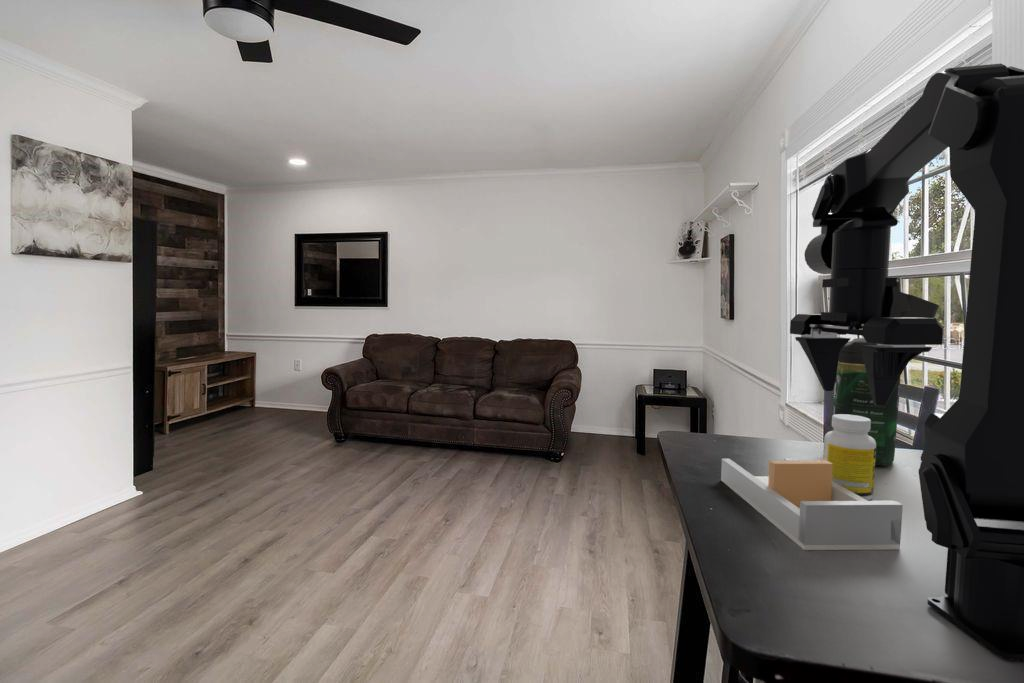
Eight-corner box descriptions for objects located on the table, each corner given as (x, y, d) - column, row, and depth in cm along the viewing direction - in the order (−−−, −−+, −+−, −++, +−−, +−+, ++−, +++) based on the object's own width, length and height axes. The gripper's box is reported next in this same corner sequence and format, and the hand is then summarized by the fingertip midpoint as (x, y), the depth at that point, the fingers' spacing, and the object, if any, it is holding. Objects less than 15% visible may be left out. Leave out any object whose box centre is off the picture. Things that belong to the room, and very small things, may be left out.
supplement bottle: (882, 504, 60) (887, 423, 59) (832, 500, 61) (836, 421, 60) (860, 487, 65) (864, 413, 64) (814, 484, 66) (817, 411, 65)
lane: (899, 549, 49) (902, 504, 48) (804, 550, 49) (806, 505, 48) (790, 479, 68) (791, 447, 67) (721, 480, 68) (722, 447, 67)
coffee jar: (897, 472, 71) (905, 341, 69) (831, 462, 75) (837, 339, 74) (892, 454, 79) (899, 337, 77) (833, 446, 83) (838, 335, 81)
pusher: (830, 506, 57) (832, 463, 57) (773, 506, 57) (774, 463, 57) (824, 502, 58) (825, 460, 58) (767, 502, 58) (769, 460, 58)
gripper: (1000, 264, 51) (989, 414, 52) (869, 274, 70) (863, 384, 71) (893, 264, 51) (884, 414, 52) (790, 274, 70) (785, 385, 71)
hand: (852, 397), depth 62 cm, fingers open, 9 cm apart
